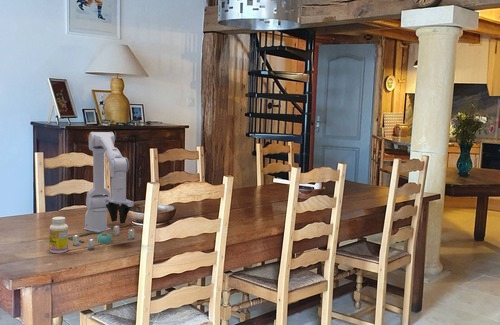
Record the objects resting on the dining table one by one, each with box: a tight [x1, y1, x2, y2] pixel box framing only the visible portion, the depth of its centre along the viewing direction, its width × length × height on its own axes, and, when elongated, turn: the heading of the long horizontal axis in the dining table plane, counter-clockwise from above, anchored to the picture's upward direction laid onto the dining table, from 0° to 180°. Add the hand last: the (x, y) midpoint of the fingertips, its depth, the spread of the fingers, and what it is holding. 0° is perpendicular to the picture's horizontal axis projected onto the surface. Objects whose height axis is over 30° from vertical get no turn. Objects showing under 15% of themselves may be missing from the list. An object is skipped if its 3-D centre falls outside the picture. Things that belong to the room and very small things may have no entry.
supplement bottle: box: [48, 216, 69, 254], centre depth 201 cm, size 7×7×13 cm
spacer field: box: [72, 224, 135, 251], centre depth 217 cm, size 11×23×4 cm, turn 147°
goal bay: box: [68, 231, 103, 244], centre depth 222 cm, size 9×14×1 cm
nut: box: [96, 232, 113, 245], centre depth 217 cm, size 6×6×3 cm
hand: (118, 222), depth 212 cm, fingers open, 4 cm apart
